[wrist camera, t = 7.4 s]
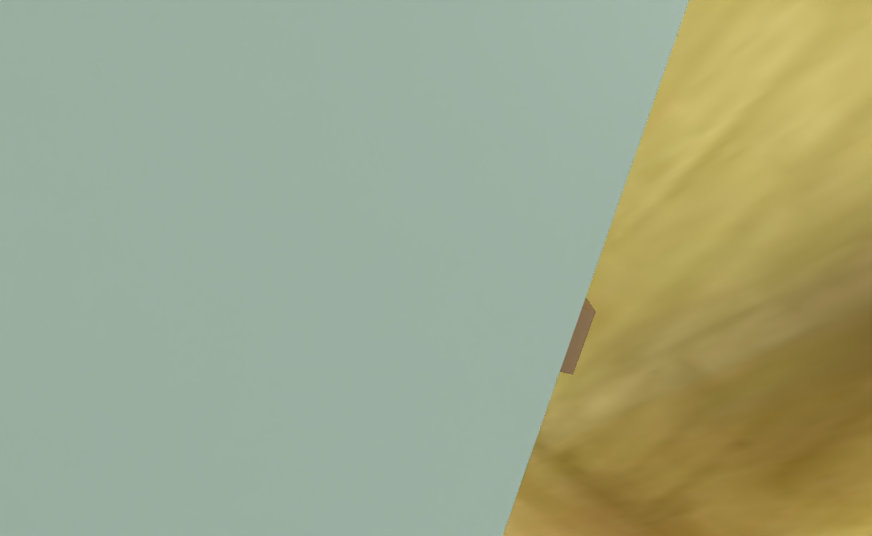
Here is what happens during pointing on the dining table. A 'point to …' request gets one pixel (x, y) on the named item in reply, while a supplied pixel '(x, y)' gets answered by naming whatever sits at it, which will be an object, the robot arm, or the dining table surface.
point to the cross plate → (300, 254)
